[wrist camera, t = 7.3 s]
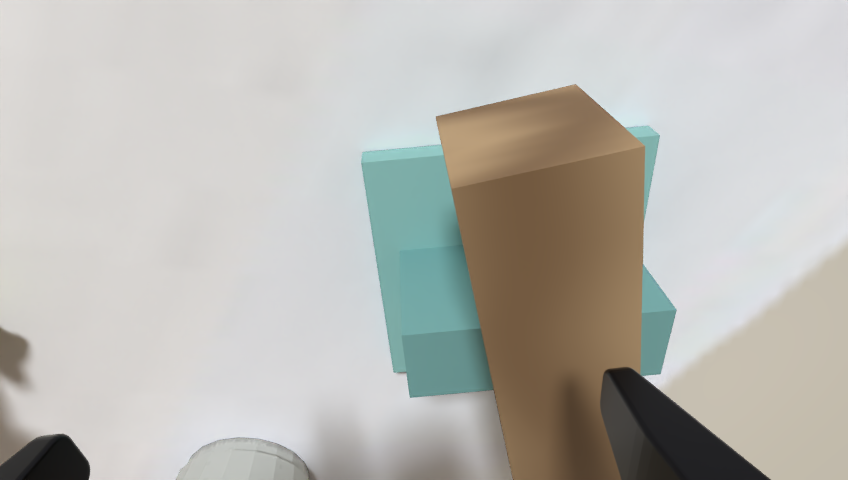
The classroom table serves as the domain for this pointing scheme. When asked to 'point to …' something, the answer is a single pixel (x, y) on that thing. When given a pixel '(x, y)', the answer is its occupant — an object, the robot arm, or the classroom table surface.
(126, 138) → the classroom table surface
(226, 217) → the classroom table surface
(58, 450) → the robot arm
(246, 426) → the classroom table surface
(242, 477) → the coffee cup
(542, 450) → the walnut bar
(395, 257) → the fulcrum block
